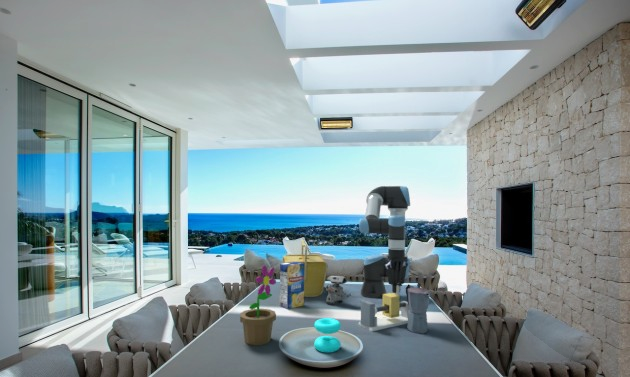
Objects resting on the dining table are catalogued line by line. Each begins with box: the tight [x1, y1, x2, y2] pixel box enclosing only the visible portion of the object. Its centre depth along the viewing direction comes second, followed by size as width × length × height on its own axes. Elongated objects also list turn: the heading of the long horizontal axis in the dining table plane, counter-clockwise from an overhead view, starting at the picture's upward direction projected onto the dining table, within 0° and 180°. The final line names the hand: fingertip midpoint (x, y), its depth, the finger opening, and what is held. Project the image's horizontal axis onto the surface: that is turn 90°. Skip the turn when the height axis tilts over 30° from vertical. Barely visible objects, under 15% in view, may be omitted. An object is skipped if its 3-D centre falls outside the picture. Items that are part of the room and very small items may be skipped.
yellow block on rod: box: [381, 292, 401, 318], centre depth 165 cm, size 5×6×9 cm
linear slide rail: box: [358, 299, 410, 332], centre depth 163 cm, size 26×9×11 cm, turn 121°
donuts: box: [313, 317, 342, 353], centre depth 135 cm, size 10×10×10 cm
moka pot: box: [405, 283, 431, 334], centre depth 156 cm, size 10×15×20 cm, turn 27°
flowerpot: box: [239, 265, 277, 346], centre depth 142 cm, size 14×14×30 cm
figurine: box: [325, 275, 352, 306], centre depth 193 cm, size 9×12×15 cm
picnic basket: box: [281, 239, 329, 298], centre depth 219 cm, size 29×26×30 cm
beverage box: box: [279, 262, 305, 310], centre depth 189 cm, size 7×11×22 cm, turn 131°
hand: (396, 299), depth 166 cm, fingers closed
